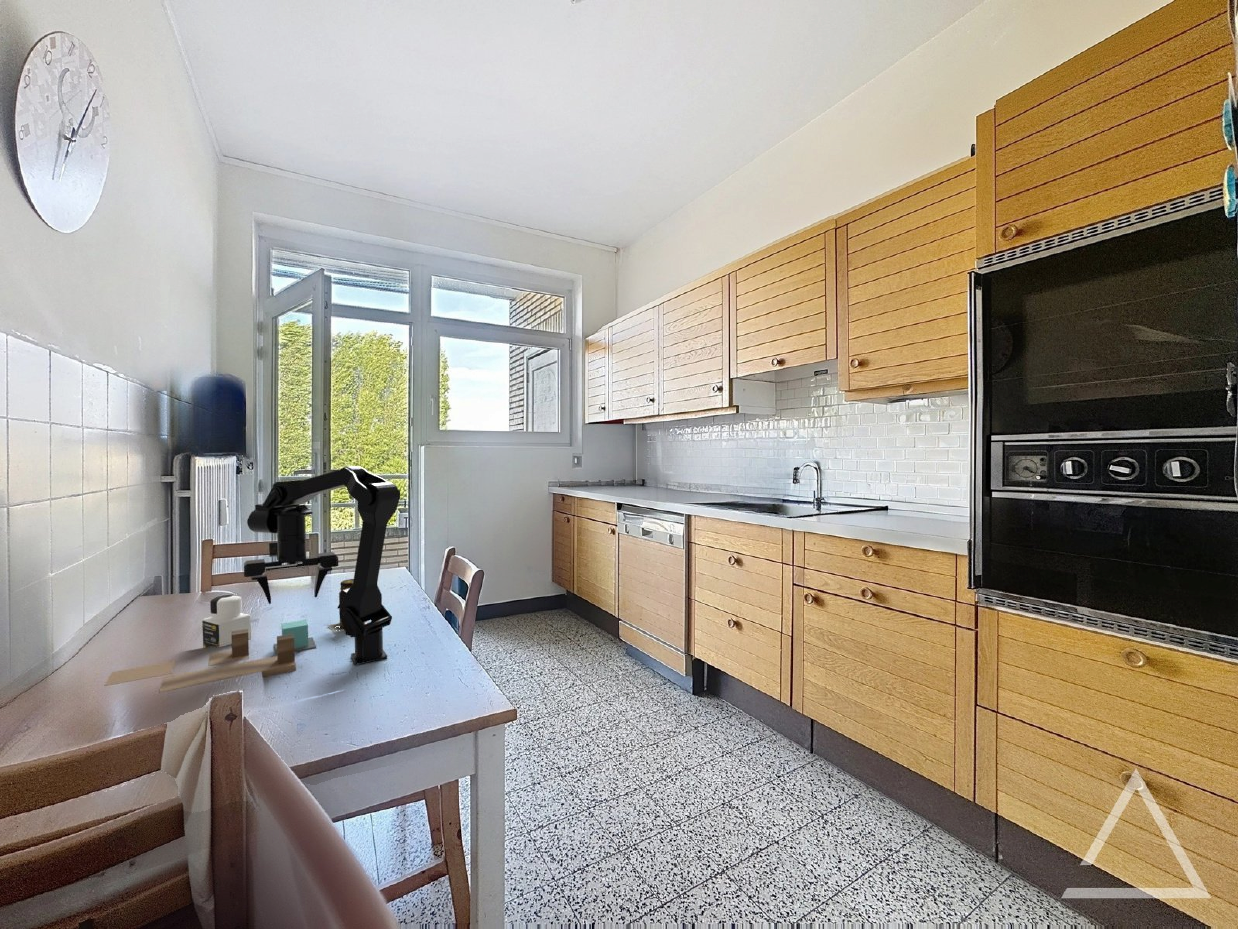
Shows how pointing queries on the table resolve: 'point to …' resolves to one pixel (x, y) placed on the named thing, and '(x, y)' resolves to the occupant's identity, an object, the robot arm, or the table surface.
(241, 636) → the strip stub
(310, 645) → the coaster
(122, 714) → the table surface
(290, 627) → the cube
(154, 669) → the board
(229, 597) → the medicine bottle
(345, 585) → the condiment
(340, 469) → the robot arm
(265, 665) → the strip
